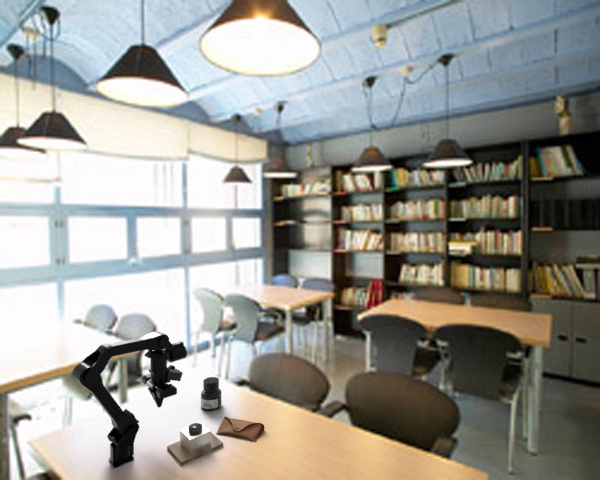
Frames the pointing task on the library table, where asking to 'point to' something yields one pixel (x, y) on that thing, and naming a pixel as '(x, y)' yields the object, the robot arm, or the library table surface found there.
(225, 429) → the sunglasses case
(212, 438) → the walnut board
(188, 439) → the block
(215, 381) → the ink bottle
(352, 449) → the library table surface
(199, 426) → the plunger
